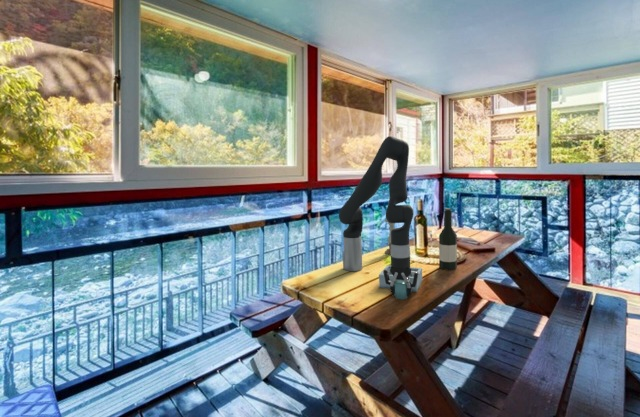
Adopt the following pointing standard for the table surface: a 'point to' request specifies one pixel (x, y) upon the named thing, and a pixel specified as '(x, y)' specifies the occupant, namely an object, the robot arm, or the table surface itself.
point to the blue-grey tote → (414, 289)
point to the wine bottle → (448, 244)
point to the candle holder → (391, 227)
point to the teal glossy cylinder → (400, 290)
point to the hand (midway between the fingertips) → (401, 295)
